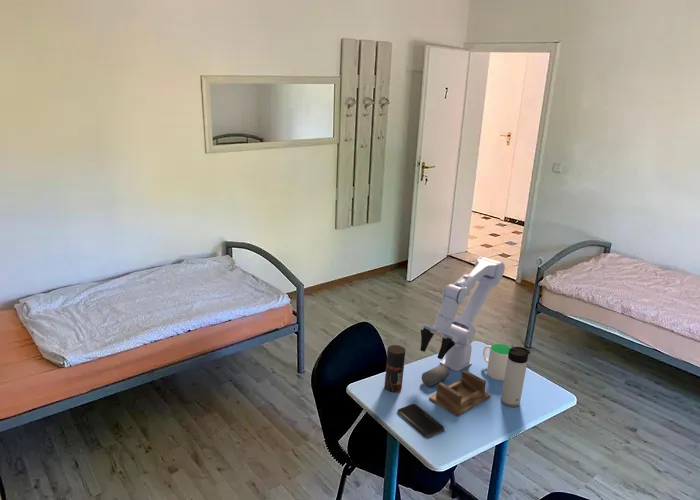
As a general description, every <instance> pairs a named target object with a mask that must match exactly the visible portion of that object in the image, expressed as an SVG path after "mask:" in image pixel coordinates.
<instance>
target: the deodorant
mask: <svg viewBox="0 0 700 500" xmlns="http://www.w3.org/2000/svg"><path fill="white" fill-rule="evenodd" d="M386 352H387V353H386V354H387V355H386V366H385V376H384V389H385V391H387V392H389V393H392V394H394V393H395V394H396V393H400V392H401V391H402V389H403V388H402V386H403V378H404V367H405V358H406V348H405V347H403V346H402V345H398V344H392V345H389V346H388V347H387V351H386Z"/></svg>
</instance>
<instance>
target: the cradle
mask: <svg viewBox="0 0 700 500" xmlns="http://www.w3.org/2000/svg"><path fill="white" fill-rule="evenodd" d="M486 384H487V381H486V380H485V379H483V378H482V377H479V376H477V375H476V374H473V373H471V372H470V371H468V370H466V369H464V370H462V371H461V378H460V379H458V381H455V382H453V383H451V384H449V385H446V384H445V383H442V382H438V383H437V387H436V393H434V394H432V395H430V396H429V397H428V399H429V401H432V402H433V403H435V404H436V405H438V406H440V407H441V408H443V409H444V410H446V411H448V412H449V413H451V414H453V415H454V416H456V417H459V416H461V415H462V414H464V413H466V412H468V411H469V410H471V409H473V408H474V407H476V406H478V405H480V404H481V403H482V402H484V401H487V400H488V399H489V398H491V394H490V393H489V392H486V386H487V385H486Z"/></svg>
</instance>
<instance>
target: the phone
mask: <svg viewBox="0 0 700 500" xmlns="http://www.w3.org/2000/svg"><path fill="white" fill-rule="evenodd" d="M396 413H397V414H398V415H399V416H400V418H402V419H403V420H404V421H406V422H407V423H408V424H409V425H410V426H411V427H413V429H415V430H416V431H417V432H418V433H420V435H422V436H423V437H424V438H431V437H434V436H436V435H438V434H441V433H443V432H444V431H445V426H443V425H442V424H441V423H440V422H439V421H438V420H436V419H435V418H434V417H432V416H431V415H429V413H428V412H427V411H426V410H424V409H423V408H421V407H420V406H419V405H418V404H416V403H412V404H408V405H406V406H402V407H400V408H398V409H397V412H396Z"/></svg>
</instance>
